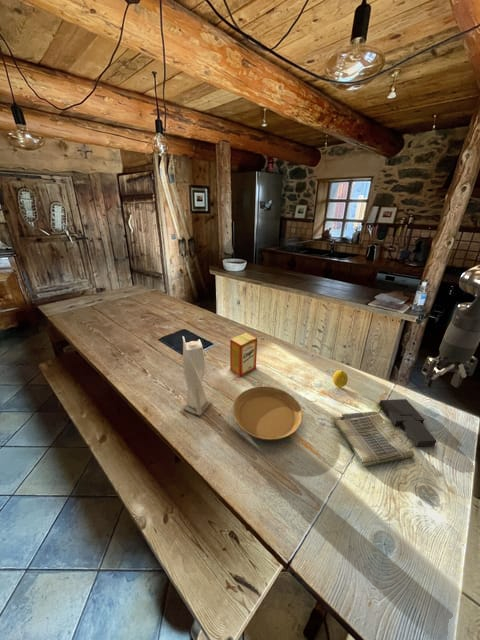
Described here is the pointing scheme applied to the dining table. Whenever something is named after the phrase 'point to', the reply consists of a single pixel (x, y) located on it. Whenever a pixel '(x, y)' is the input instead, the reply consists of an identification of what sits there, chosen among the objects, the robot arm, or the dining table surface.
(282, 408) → the plant saucer
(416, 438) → the pad
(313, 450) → the dining table surface
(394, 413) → the notch pad
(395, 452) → the dish towel
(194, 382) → the skyscraper
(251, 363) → the baking soda box
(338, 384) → the lemon
